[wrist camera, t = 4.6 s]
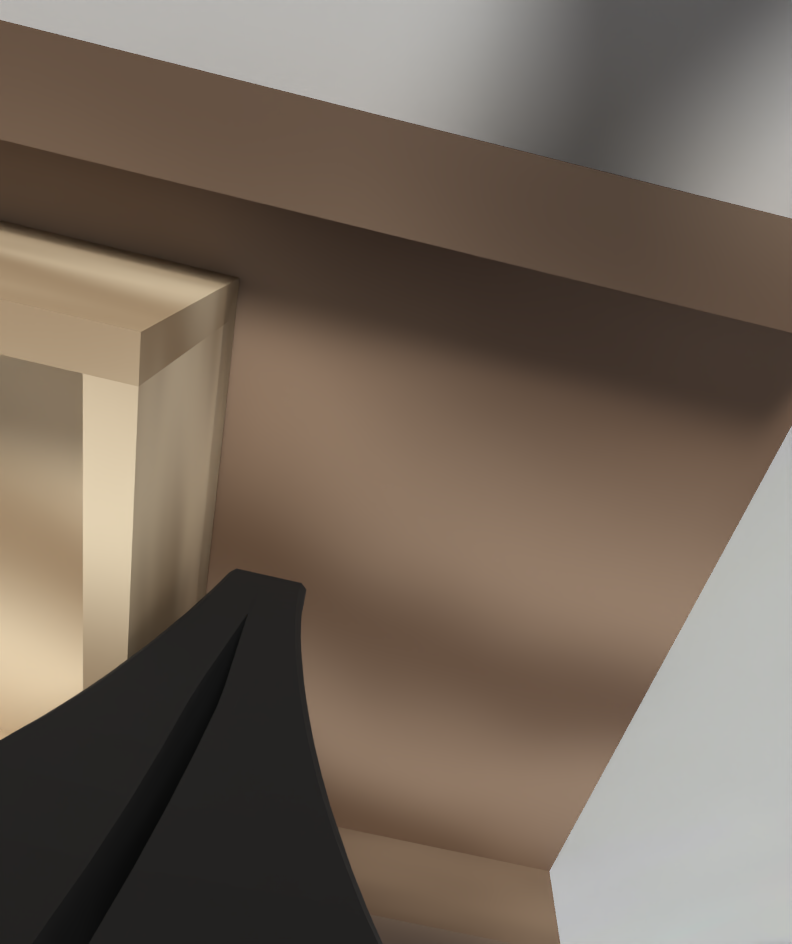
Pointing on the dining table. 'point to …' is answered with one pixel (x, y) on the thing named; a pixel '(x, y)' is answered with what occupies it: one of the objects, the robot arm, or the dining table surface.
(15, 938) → the robot arm
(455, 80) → the dining table surface
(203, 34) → the dining table surface
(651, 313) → the bay
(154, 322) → the light wooden drawer
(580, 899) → the dining table surface
